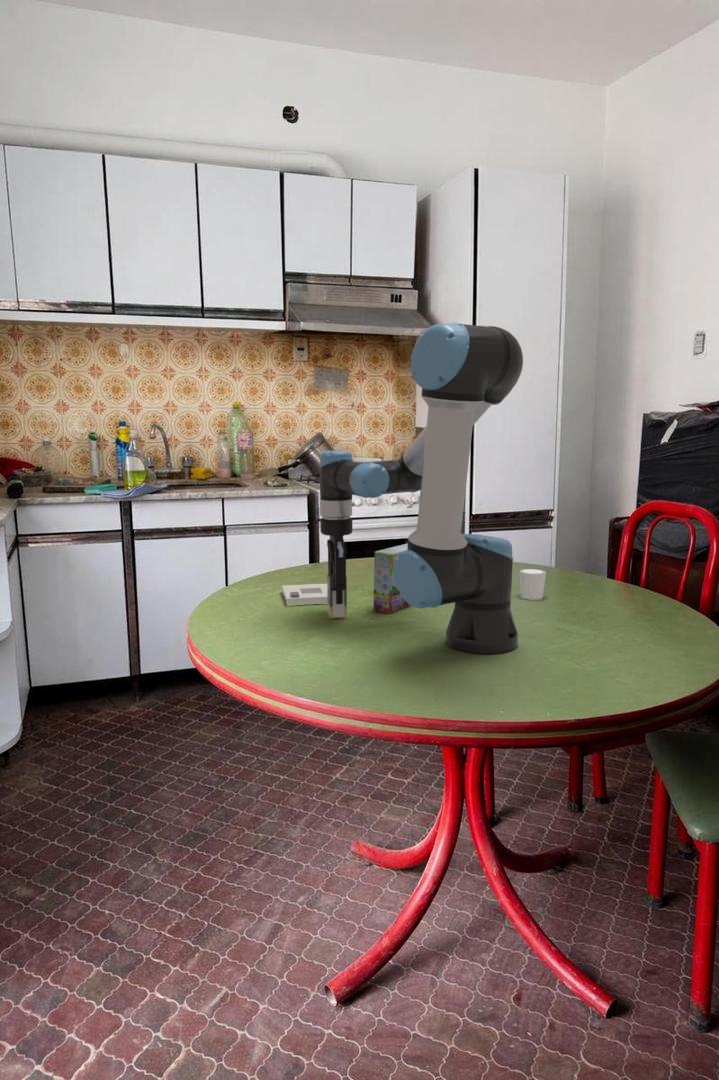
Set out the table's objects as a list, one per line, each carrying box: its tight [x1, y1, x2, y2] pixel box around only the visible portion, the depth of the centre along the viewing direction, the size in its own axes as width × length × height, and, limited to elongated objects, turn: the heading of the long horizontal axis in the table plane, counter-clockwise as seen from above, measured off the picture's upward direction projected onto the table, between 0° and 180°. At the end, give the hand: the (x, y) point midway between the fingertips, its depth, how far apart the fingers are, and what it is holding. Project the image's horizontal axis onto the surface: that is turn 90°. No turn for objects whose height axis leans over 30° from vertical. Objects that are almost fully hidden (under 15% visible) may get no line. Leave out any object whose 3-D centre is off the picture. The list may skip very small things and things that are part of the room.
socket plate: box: [281, 583, 328, 605], centre depth 198 cm, size 14×14×3 cm
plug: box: [326, 573, 348, 619], centre depth 181 cm, size 4×4×10 cm
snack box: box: [372, 542, 411, 615], centre depth 191 cm, size 21×6×15 cm, turn 143°
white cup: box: [519, 568, 547, 601], centre depth 198 cm, size 7×7×7 cm
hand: (337, 613), depth 181 cm, fingers closed on plug, 4 cm apart
